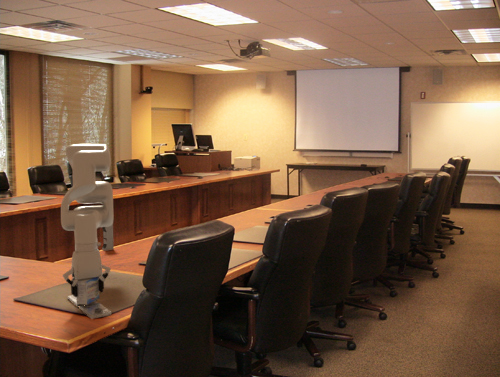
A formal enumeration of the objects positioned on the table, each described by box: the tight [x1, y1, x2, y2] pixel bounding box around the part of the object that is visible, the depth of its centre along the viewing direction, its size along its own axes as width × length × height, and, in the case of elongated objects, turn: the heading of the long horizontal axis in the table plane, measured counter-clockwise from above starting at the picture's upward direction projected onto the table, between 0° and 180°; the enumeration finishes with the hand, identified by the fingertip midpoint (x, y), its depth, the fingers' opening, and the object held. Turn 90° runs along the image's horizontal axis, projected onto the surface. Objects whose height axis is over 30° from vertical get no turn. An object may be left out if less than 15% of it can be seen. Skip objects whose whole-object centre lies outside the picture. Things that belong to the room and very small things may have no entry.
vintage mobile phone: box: [101, 223, 115, 252], centre depth 284 cm, size 4×5×25 cm
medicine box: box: [76, 277, 100, 305], centre depth 188 cm, size 8×4×9 cm, turn 163°
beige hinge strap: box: [67, 294, 112, 320], centre depth 188 cm, size 27×7×2 cm, turn 36°
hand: (87, 293), depth 188 cm, fingers closed on medicine box, 9 cm apart
